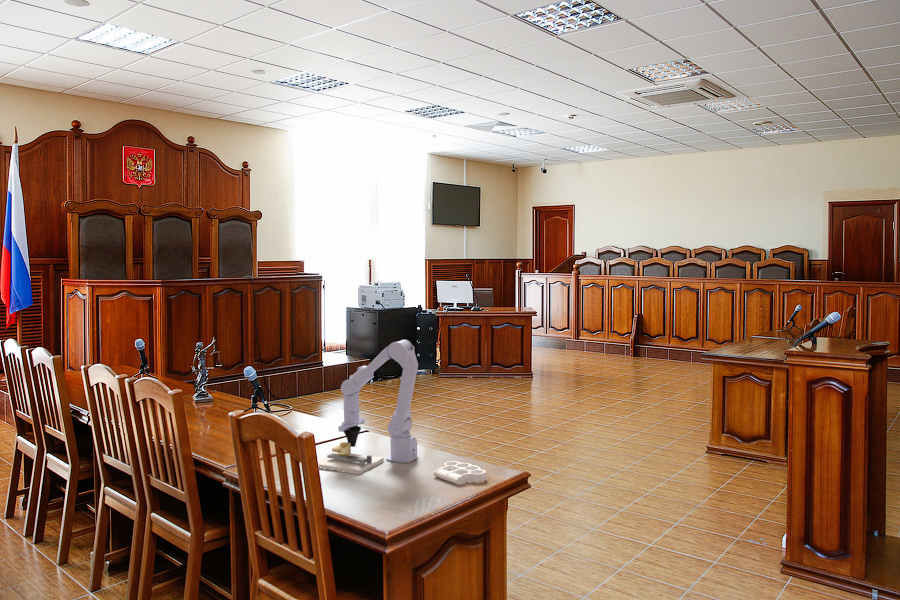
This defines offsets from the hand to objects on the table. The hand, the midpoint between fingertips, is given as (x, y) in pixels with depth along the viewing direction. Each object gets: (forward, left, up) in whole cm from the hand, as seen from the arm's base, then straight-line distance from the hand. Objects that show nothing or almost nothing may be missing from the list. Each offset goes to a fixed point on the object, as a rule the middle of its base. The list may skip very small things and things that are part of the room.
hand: (352, 446), depth 250 cm
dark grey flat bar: (-7, +12, -1) cm, 14 cm away
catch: (0, +7, -2) cm, 7 cm away
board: (-6, +11, -3) cm, 13 cm away
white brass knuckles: (-49, +7, -4) cm, 49 cm away
